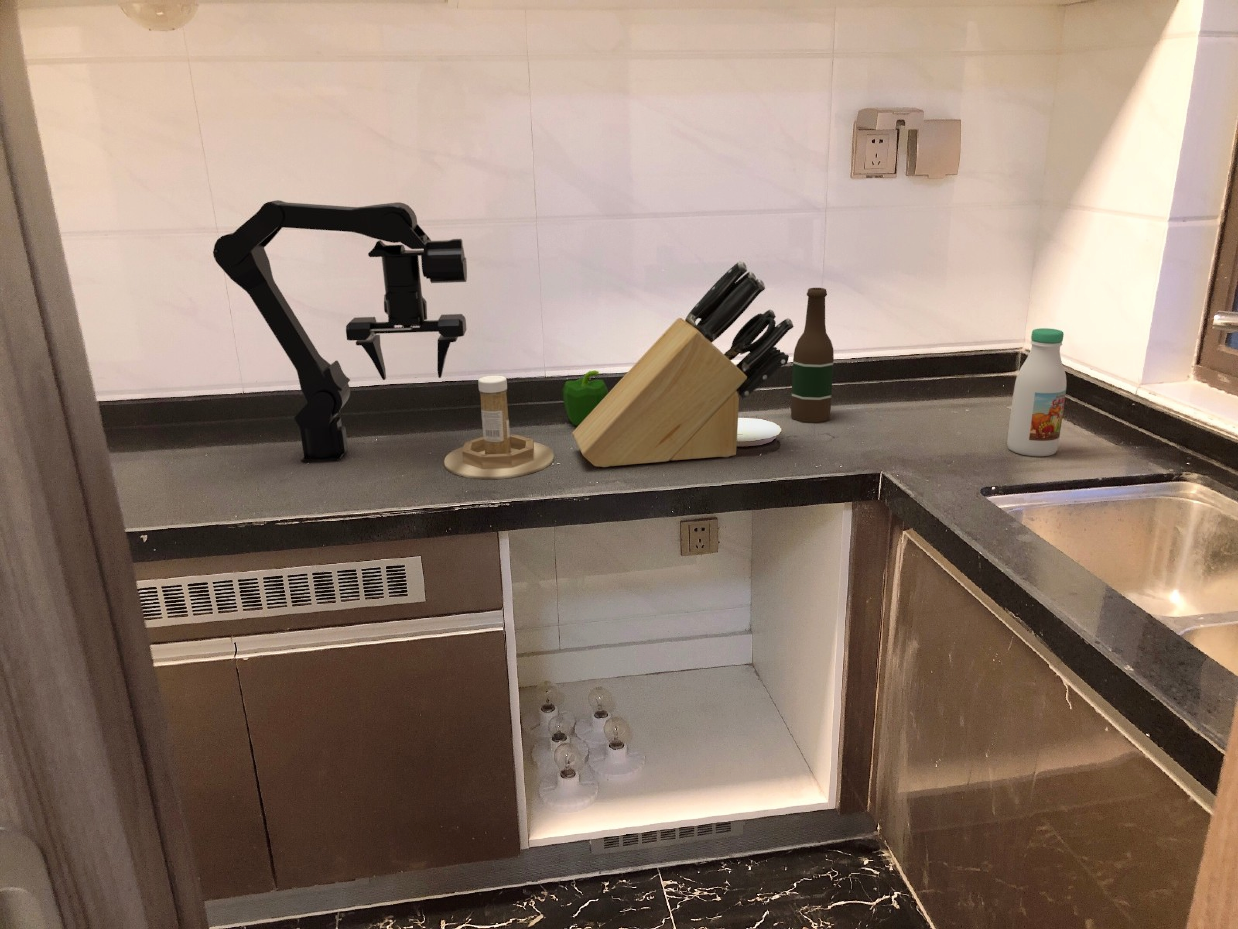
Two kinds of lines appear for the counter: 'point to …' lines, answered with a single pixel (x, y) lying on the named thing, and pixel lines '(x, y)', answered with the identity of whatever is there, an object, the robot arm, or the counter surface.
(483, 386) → the sprinkles bottle
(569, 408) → the bell pepper
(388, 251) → the robot arm
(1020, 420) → the milk bottle
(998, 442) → the counter surface
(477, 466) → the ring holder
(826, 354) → the beer bottle
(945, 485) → the counter surface
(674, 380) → the knife block
